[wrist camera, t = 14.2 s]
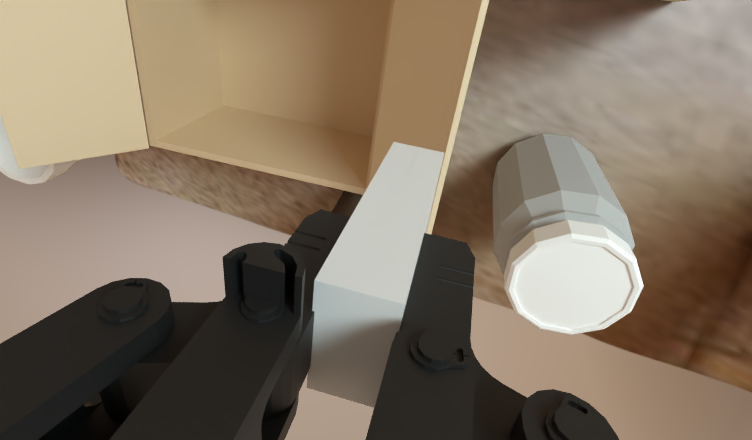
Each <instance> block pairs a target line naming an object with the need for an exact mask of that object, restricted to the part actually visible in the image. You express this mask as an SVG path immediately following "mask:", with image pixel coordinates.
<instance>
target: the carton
mask: <svg viewBox="0 0 752 440" xmlns="http://www.w3.org/2000/svg"><path fill="white" fill-rule="evenodd" d="M394 1H395V0H127V6H128V12H129V18H130V25H131V31H132V37H133V43H134V50H135V56H136V62H137V68H138V75H139V81H140V87H141V93H142V100H143V106H144V112H145V118H146V125H147V131H148V137H149V144H150V146H154V147H158V148H162V149H167V150H171V151H175V152H180V153H184V154H188V155H193V156H197V157H201V158H206V159H210V160H214V161H219V162H223V163H227V164H232V165H236V166H240V167H245V168H249V169H253V170H257V171H262V172H266V173H270V174H275V175H279V176H283V177H288V178H292V179H296V180H301V181H305V182H309V183H314V184H318V185H322V186H327V187H331V188H335V189H340V190H344V191H348V192H353V193H357V194H361V195H364V193H365V191H366V189H367V188H368V185H369V178H370V171H371V164H372V157H373V150H374V143H375V136H376V129H377V122H378V115H379V107H380V100H381V93H382V86H383V79H384V72H385V65H386V58H387V51H388V44H389V37H390V30H391V23H392V15H393V8H394Z"/></svg>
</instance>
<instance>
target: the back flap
mask: <svg viewBox="0 0 752 440" xmlns="http://www.w3.org/2000/svg"><path fill="white" fill-rule="evenodd" d="M0 116H1V119H2V122H3V124H4V127H5V130H6V133H7V136H8V139H9V142H10V145H11V148H12V150H13V153H14V156H15V159H16V162H17V165H18V168H19V169H23V168H29V167H35V166H42V165H48V164H54V163H60V162H67V161H73V160H79V159H85V158H92V157H98V156H104V155H110V154H117V153H123V152H129V151H136V150H142V149H148V148H149V145H148V138H147V132H146V126H145V120H144V114H143V107H142V101H141V95H140V89H139V83H138V76H137V70H136V64H135V58H134V52H133V45H132V39H131V33H130V27H129V21H128V14H127V8H126V2H125V0H0Z"/></svg>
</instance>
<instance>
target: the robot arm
mask: <svg viewBox="0 0 752 440" xmlns="http://www.w3.org/2000/svg"><path fill="white" fill-rule="evenodd" d="M443 157H444V152H439V151H434V150H430V149H425V148H420V147H416V146H411V145H406V144H402V143H397V142H393V144H392V146H391V148H390V149H389V151H388V153H387V154H386V156H385V158H384V160H383V161H382V163H381V165H380V167H379V168H378V170H377V172H376V174H375V175H374V177H373V179H372V181H371V182H370V184H369V186H368V188H367V189H366V191H365V193H364V195H363V196H362V198H361V200H360V202H359V203H358V205H357V207H356V209H355V210H354V212H353V214H352V216H351V217H350V216H345V215H341V214H337V213H333V212H329V211H325V210H319V211H318V212H316V213H314V214H312V215H310V216H308V217H306V218H305V219H304V220H303V221H302V223H301V224H300V225H299V227H298V228H297V229H296V232H295V233H293V235H292V236H291V237H290V239H289V240H288V243H287V244H285V245H284V246H283V245H281V244H274V243H266V242H263V243H252V244H247V245H244V246H241V247H238V248H235V249H233V250H232V251H230V252H229V253H228V254H226V255H225V256H224V257H223V268H224V281H225V294H226V297H225V298H224V299H223V301H219V302H208V303H194V302H171V298H170V293H169V290H168V289H167V288H166V287H165V286H164V285H163V284H161V283H160V282H157V281H154V280H151V279H147V278H146V279H145V278H129V279H124V280H119V281H114V282H111V283H109V284H107V285H104V286H102V287H100V288H97V289H95V290H93V291H92V292H90V293H88V294H86V295H85V296H83V297H82V298H80V299H78V300H76V301H74V302H72V303H71V304H69V305H67V306H65V307H64V308H62V309H60V310H59V311H57V312H55V313H53V314H51V315H50V316H48V317H46V318H44V319H43V320H41V321H39V322H38V323H36V324H34V325H32V326H30V327H29V328H27V329H25V330H23V331H22V332H20V333H18V334H17V335H15V336H13V337H11V338H10V339H8V340H6V341H4V342H3V343H1V344H0V440H284V439H285V437H286V435H287V433H288V430H289V428H290V426H291V423H292V421H293V419H294V417H295V414H296V410H297V405H298V395H299V391H300V388H301V386H302V384H303V382H304V380H305V378H306V375H307V373H308V377H307V388H310V389H314V390H317V391H320V392H324V393H327V394H330V395H334V396H338V397H340V398H344V399H347V400H351V401H354V402H357V403H361V404H364V405H367V406H371V407H374V411H373V415H372V418H371V422H370V426H369V430H368V433H367V437H366V440H619V438H618V437H617V435H616V433H615V432H614V431H613V429H612V428H611V426H610V425H609V423H608V422H607V420H606V419H605V418H604V417H603V416H602V415H601V414H600V413H599V412H598V411H597V410H596V409H594V408H593V407H592V406H591V405H590V404H589V403H587V402H585V401H583V400H581V399H580V398H578V397H576V396H574V395H572V394H570V393H566V392H562V391H558V390H554V389H553V390H542V391H537V392H536V393H534V394H533V395H531V396H530V397H528V398H526V397H525V396H523V395H521V394H520V393H518V392H516V391H514V390H513V389H511V388H509V387H507V386H506V385H504V384H502V383H501V382H499V381H498V380H496V379H495V378H494V377H492V376H491V375H490V374H489V373H488V372H487V371H486V370H485V369H484V368H483V367H482V366H481V365H480V363H479V362H478V360H477V359H476V357H475V355H474V353H473V350H472V348H471V341H470V333H471V316H472V299H473V283H474V266H475V257H474V255H473V254H472V252H471V250H470V248H469V246H468V244H467V243H464V242H460V241H456V240H452V239H448V238H444V237H439V236H435V235H431V234H427V233H426V230H427V226H428V222H429V217H430V213H431V209H432V205H433V200H434V196H435V192H436V187H437V183H438V179H439V175H440V170H441V166H442V162H443Z"/></svg>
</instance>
